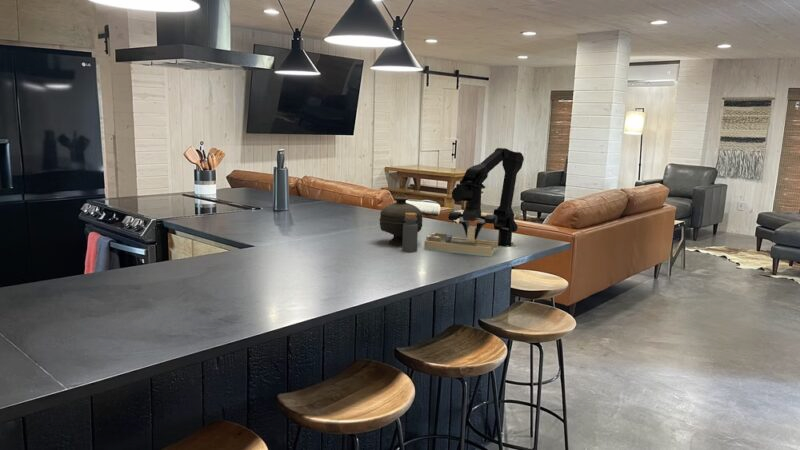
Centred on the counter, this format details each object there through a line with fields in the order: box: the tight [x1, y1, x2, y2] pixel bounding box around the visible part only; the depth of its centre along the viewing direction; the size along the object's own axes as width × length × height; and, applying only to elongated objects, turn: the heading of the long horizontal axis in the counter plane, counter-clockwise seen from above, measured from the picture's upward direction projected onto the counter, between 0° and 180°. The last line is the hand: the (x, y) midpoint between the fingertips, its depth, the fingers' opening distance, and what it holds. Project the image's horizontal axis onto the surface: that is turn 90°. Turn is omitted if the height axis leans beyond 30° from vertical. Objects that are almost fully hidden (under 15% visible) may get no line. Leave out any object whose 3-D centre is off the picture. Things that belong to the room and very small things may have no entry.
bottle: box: [401, 213, 419, 253], centre depth 229 cm, size 6×6×15 cm
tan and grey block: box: [446, 225, 478, 246], centre depth 235 cm, size 5×12×8 cm, turn 70°
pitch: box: [423, 236, 499, 258], centre depth 235 cm, size 14×27×4 cm, turn 70°
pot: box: [379, 196, 423, 247], centre depth 242 cm, size 18×18×20 cm
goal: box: [425, 232, 448, 243], centre depth 238 cm, size 10×6×4 cm, turn 160°
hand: (471, 238), depth 233 cm, fingers closed on tan and grey block, 3 cm apart
